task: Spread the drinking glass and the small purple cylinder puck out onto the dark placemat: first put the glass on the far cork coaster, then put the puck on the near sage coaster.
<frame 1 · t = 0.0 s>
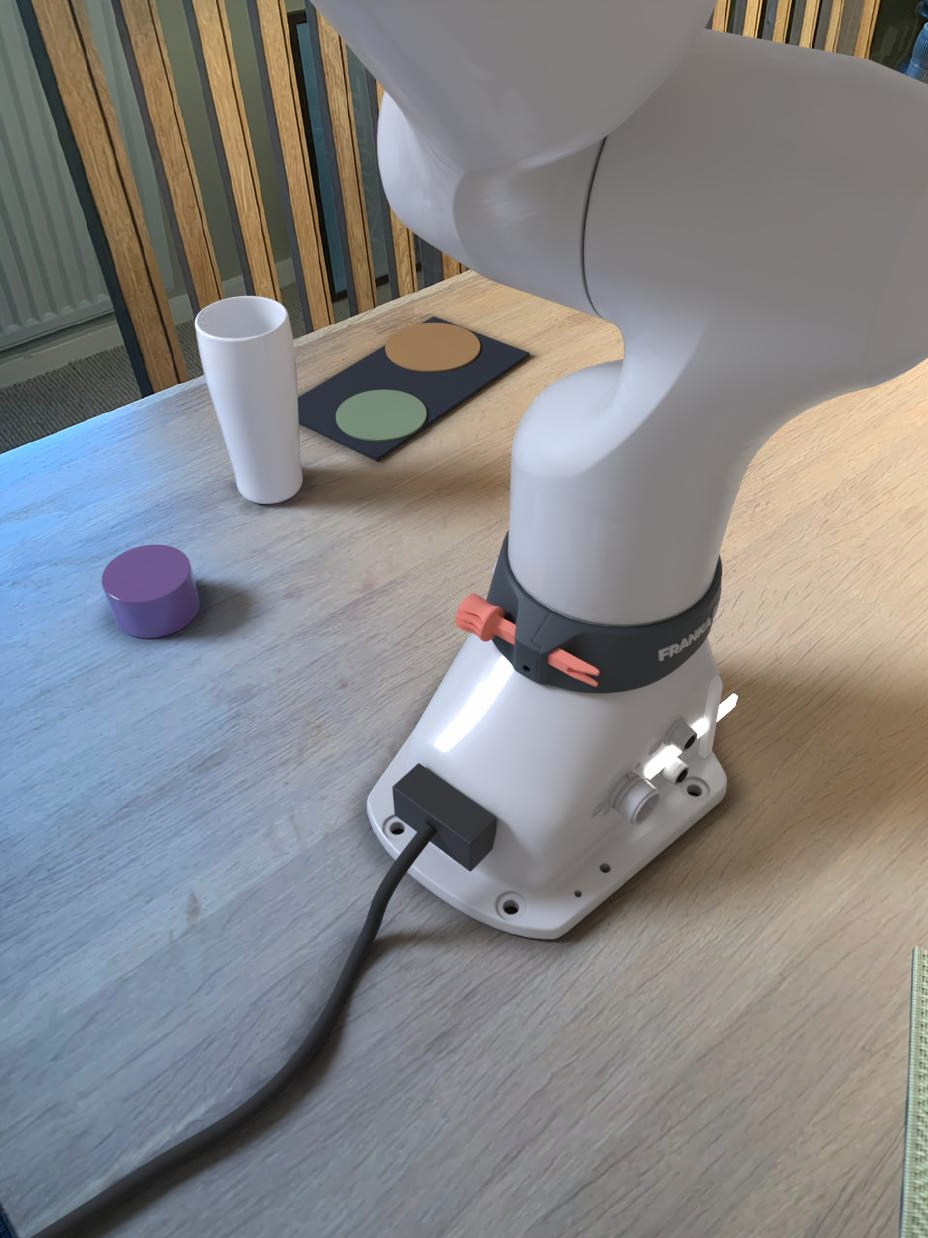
placemat: (408, 383, 92), on the table
purple cylinder puck: (157, 608, 71), on the table
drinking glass: (271, 489, 81), on the table
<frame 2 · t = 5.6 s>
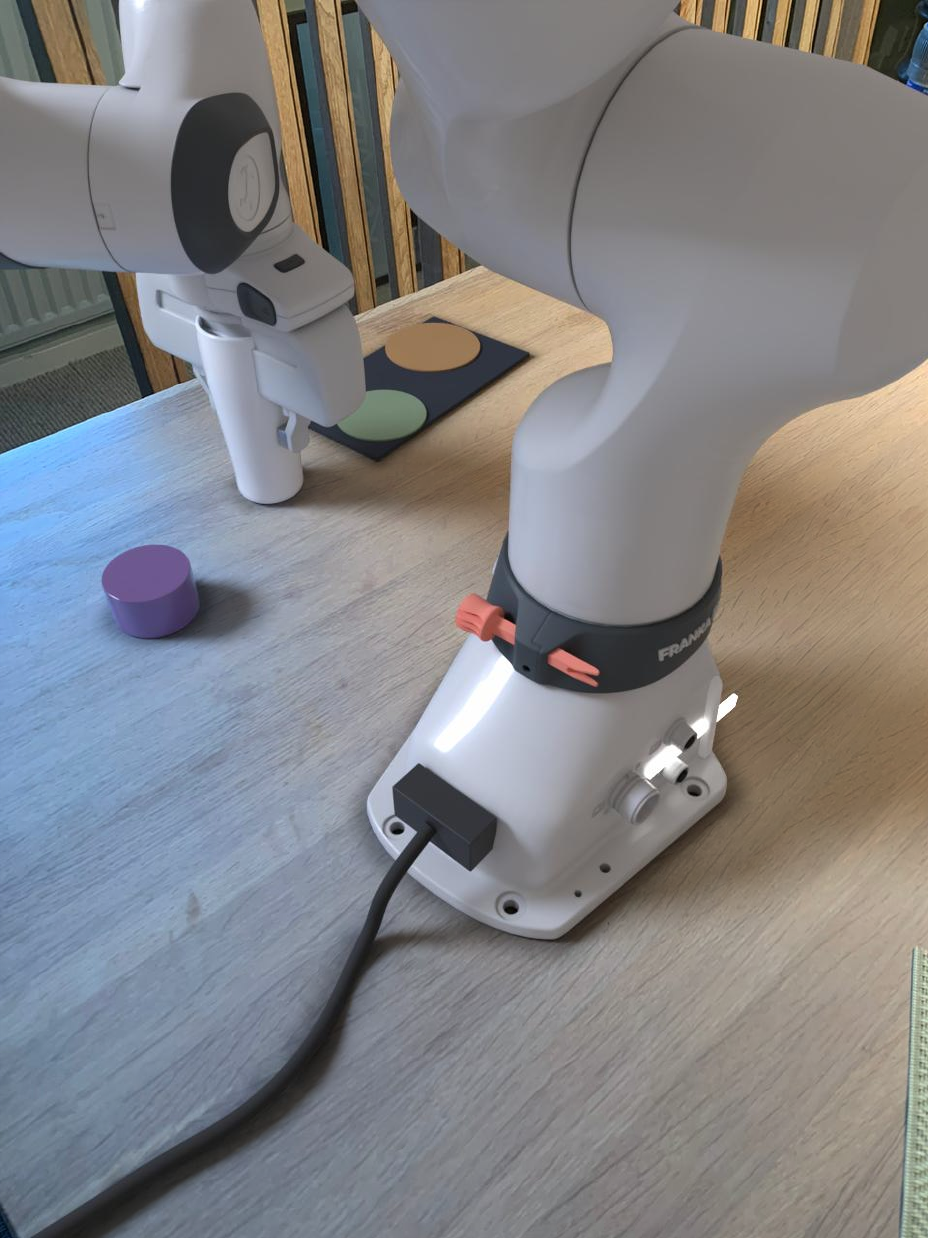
hand: (261, 429, 77), 6 cm above the table, tool pointing down, fingers closed on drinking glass, 6 cm apart
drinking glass: (271, 489, 81), on the table, touching gripper
everything else where it was.
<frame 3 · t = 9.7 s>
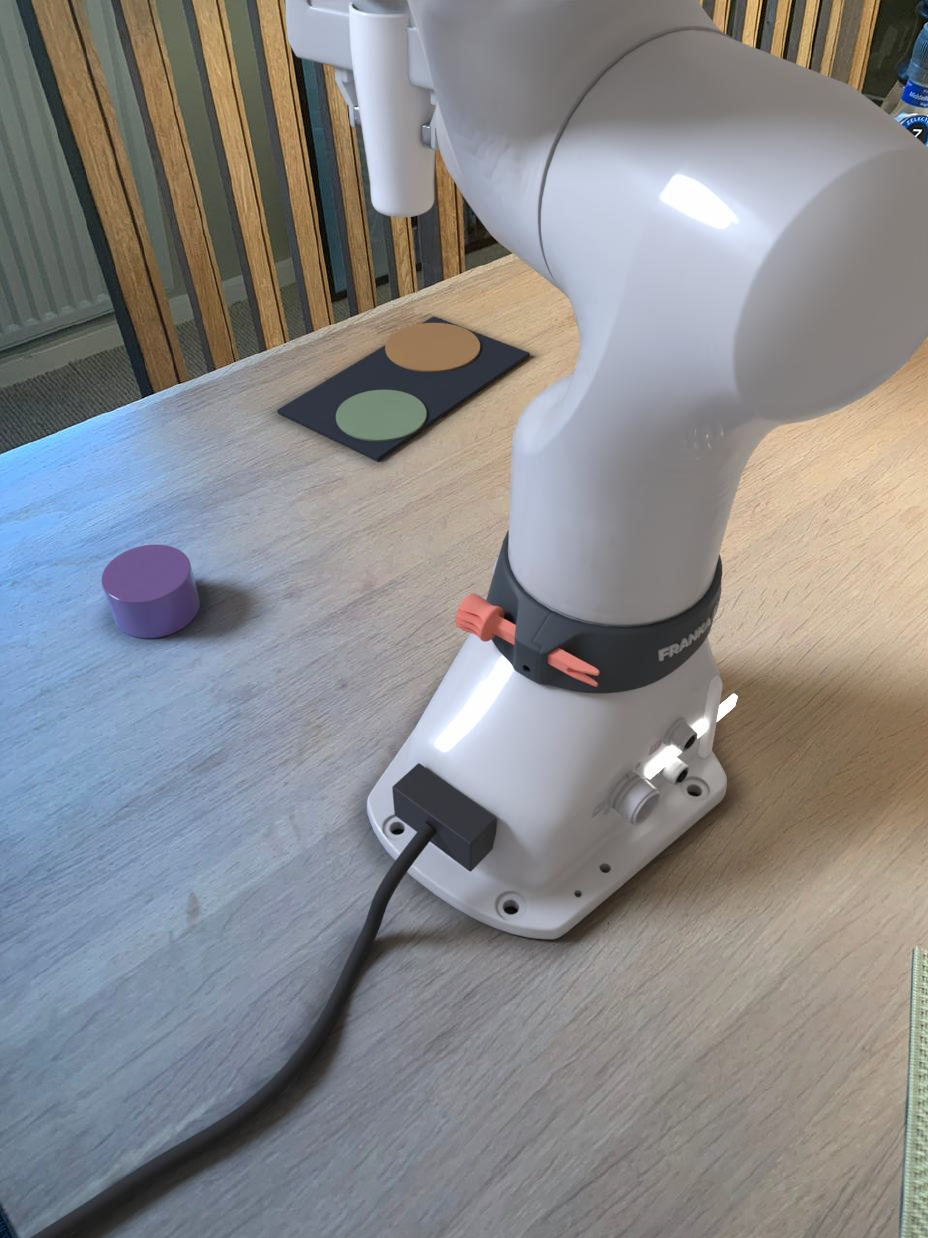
hand: (399, 137, 80), 21 cm above the table, tool pointing down, fingers closed on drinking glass, 6 cm apart
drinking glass: (403, 209, 84), point 15 cm above the table, touching gripper
everything else where it was.
when the fingers open (6 cm above the table, at t = 13.8 s): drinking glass stays where it is, resting on placemat.
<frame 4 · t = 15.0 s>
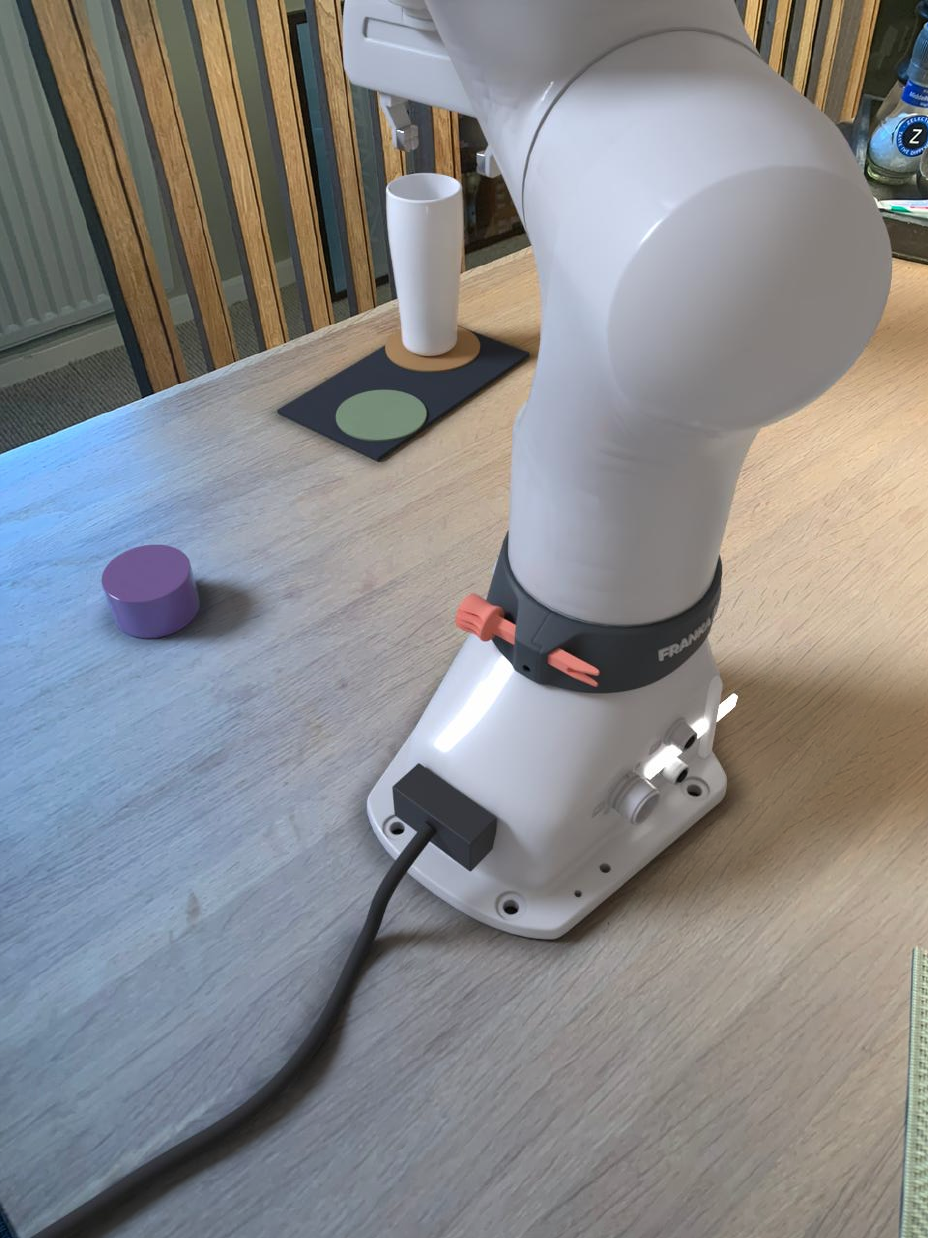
hand: (446, 161, 84), 18 cm above the table, tool pointing down, fingers open, 8 cm apart
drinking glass: (429, 346, 96), resting on placemat
everything else where it was.
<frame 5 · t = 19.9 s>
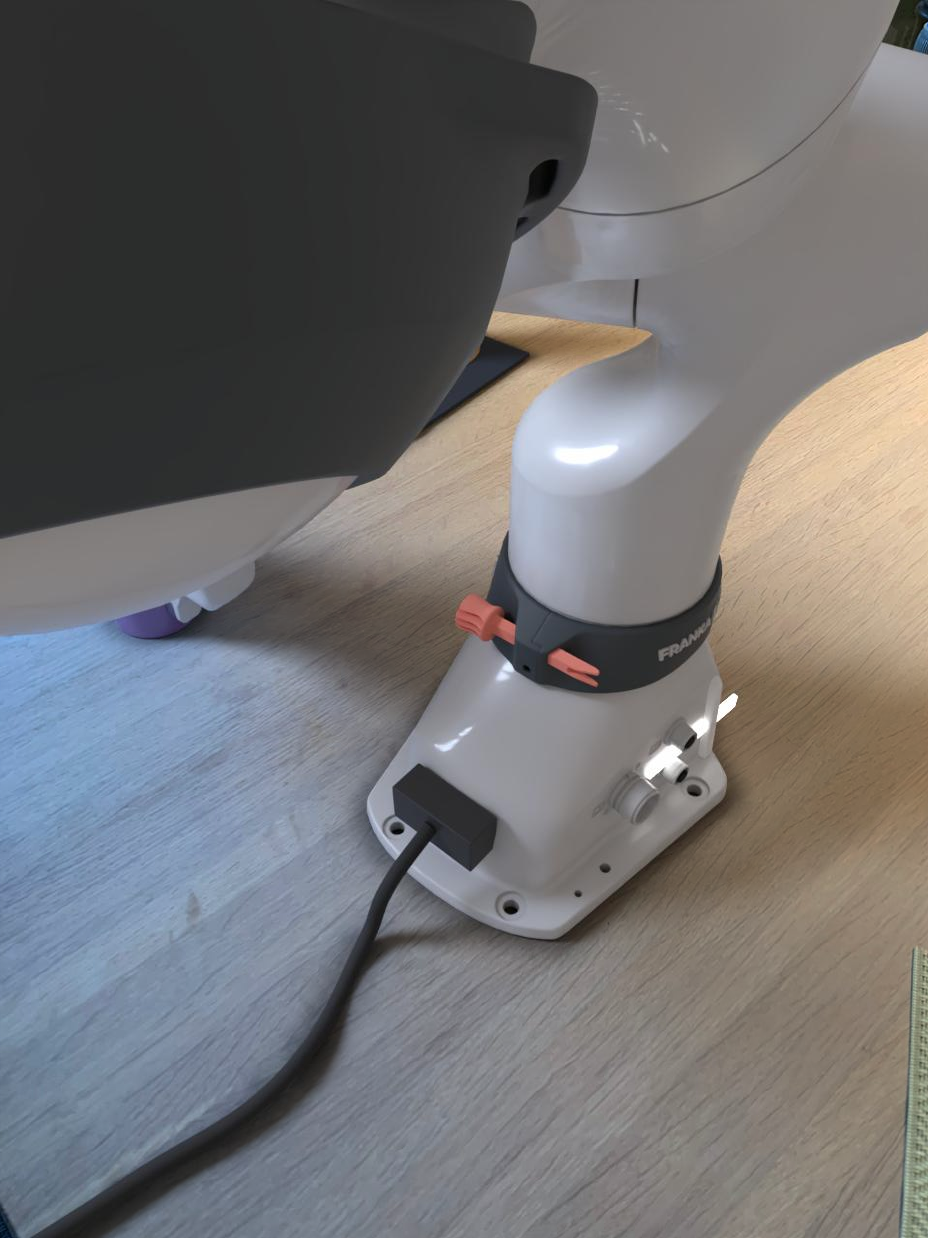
hand: (151, 591, 69), 2 cm above the table, tool pointing down, fingers closed on purple cylinder puck, 6 cm apart
purple cylinder puck: (157, 608, 71), on the table, touching gripper
everything else where it was.
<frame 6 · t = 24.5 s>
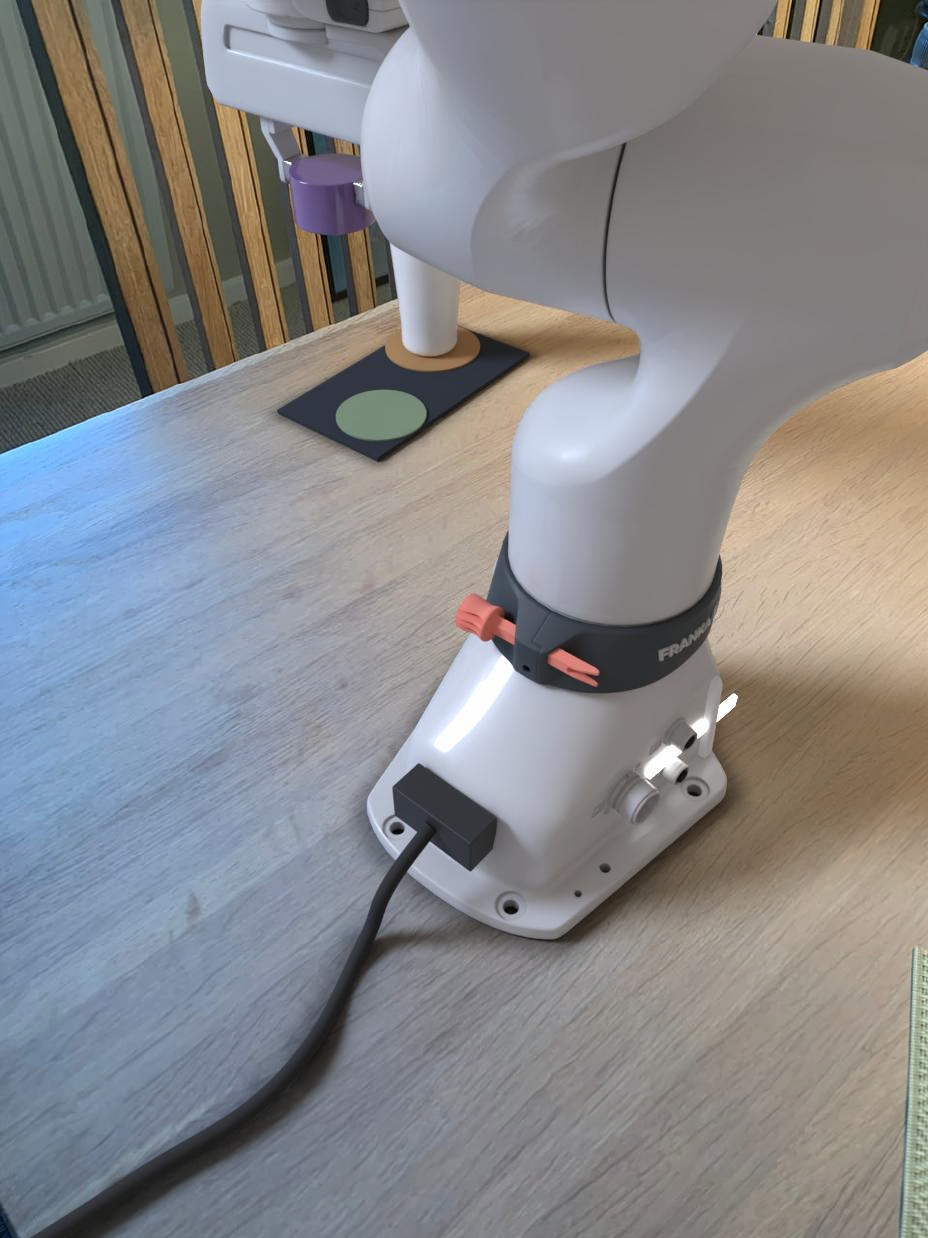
hand: (333, 194, 71), 21 cm above the table, tool pointing down, fingers closed on purple cylinder puck, 6 cm apart
purple cylinder puck: (335, 217, 72), point 19 cm above the table, touching gripper
everything else where it was.
when the fingers open (2 cm above the table, at t = 29.2 s): purple cylinder puck stays where it is, resting on placemat.
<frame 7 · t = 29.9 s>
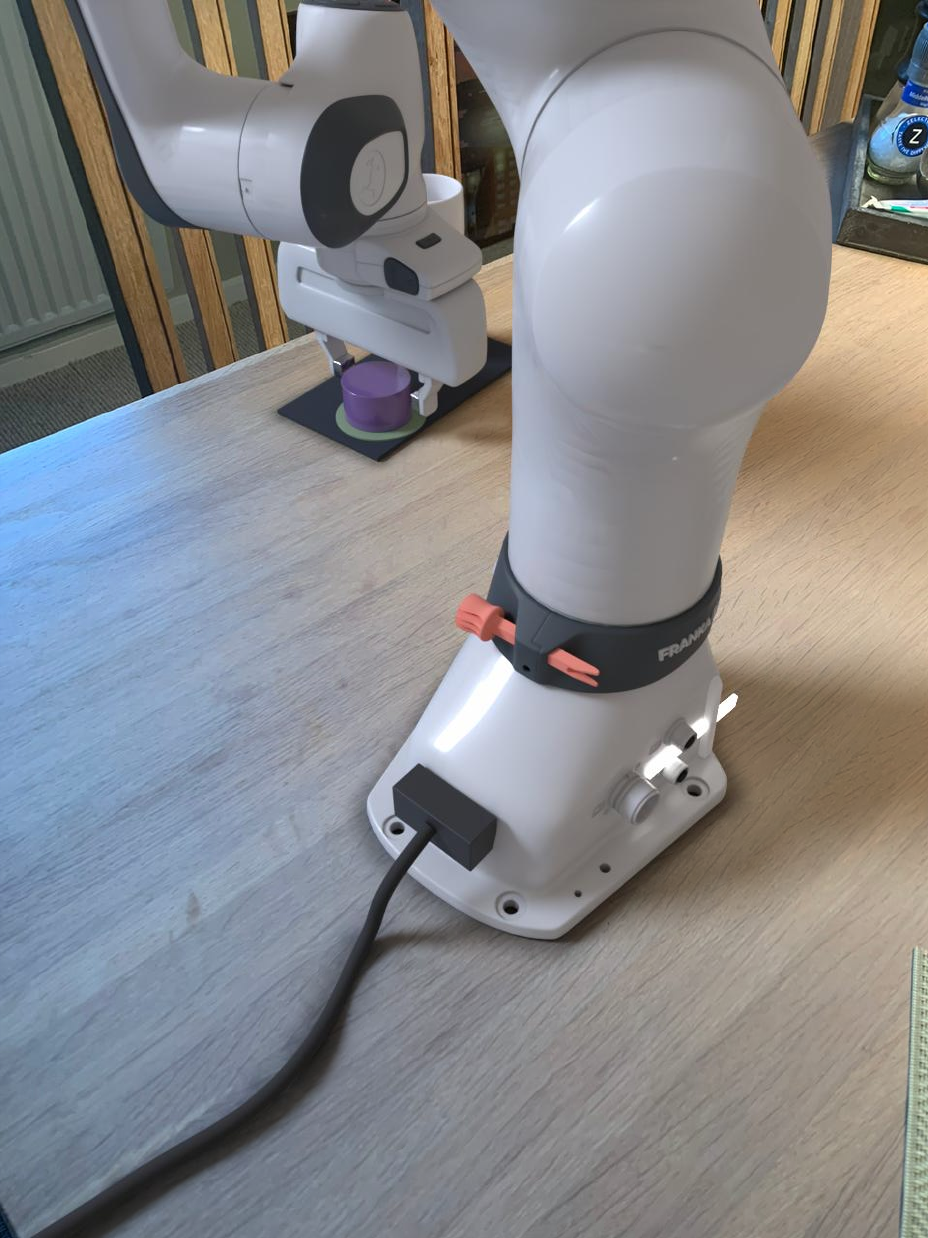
hand: (383, 392, 86), 3 cm above the table, tool pointing down, fingers open, 8 cm apart
purple cylinder puck: (378, 413, 87), point 1 cm above the table, touching placemat
everything else where it was.
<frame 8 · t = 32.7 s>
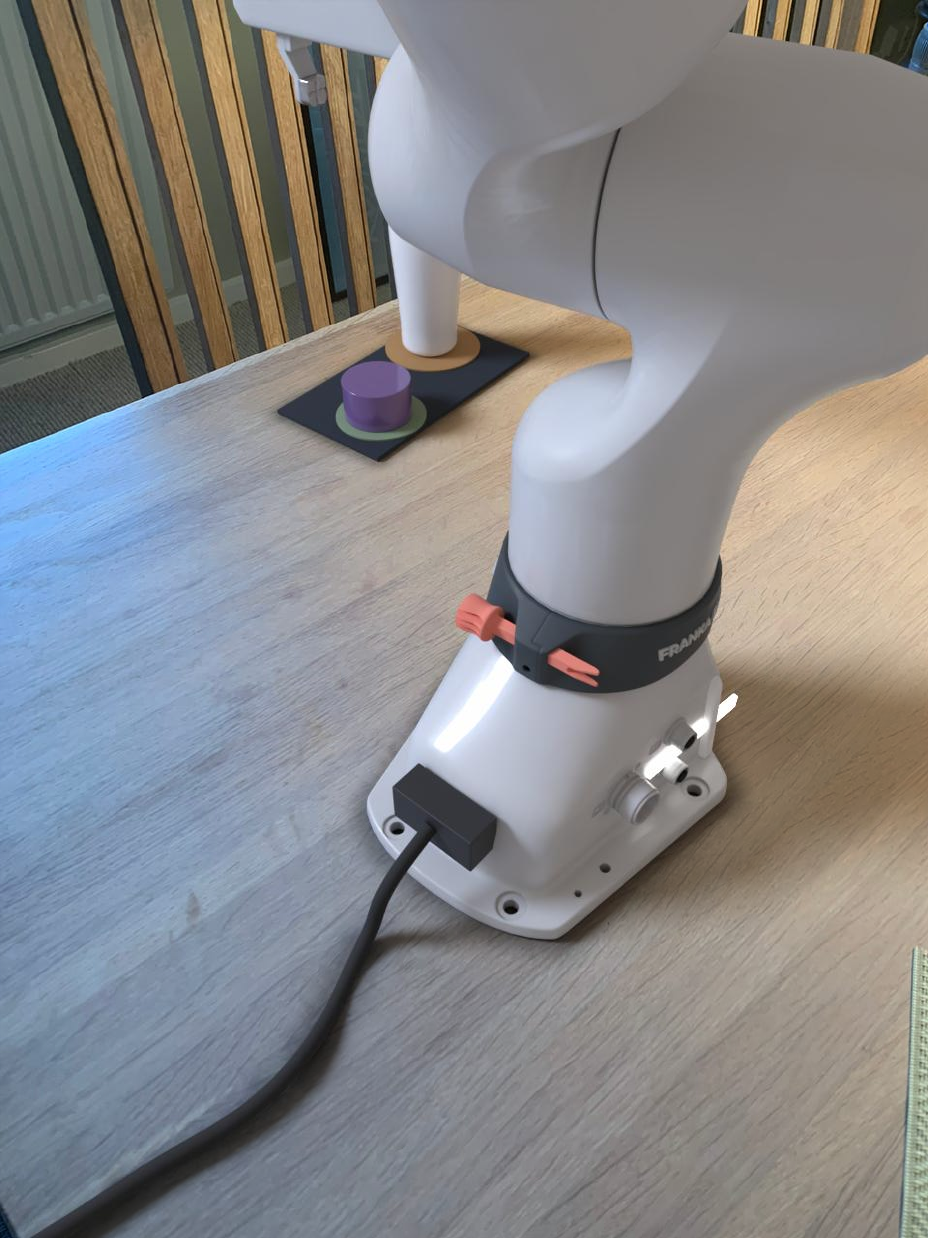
hand: (359, 116, 70), 25 cm above the table, tool pointing down, fingers open, 8 cm apart
nothing on the table moved.
at the end: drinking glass 0.3 cm from the target spot on the placemat, point 0.4 cm above the placemat's base; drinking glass tilted 0°; purple cylinder puck 0.2 cm from the target spot on the placemat, point 0.6 cm above the placemat's base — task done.
